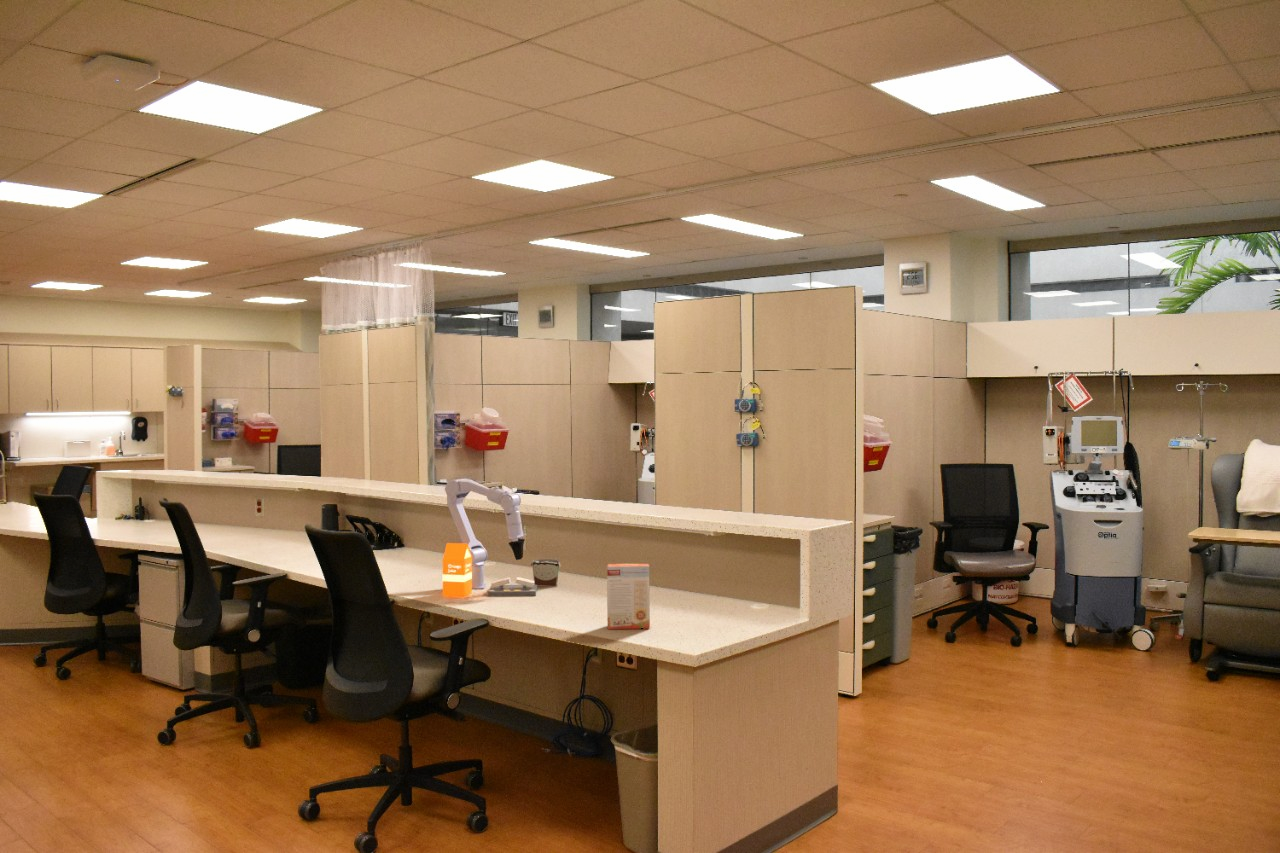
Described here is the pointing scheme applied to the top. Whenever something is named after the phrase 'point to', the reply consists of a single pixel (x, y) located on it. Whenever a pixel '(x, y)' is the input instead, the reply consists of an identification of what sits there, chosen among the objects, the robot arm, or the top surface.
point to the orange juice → (457, 570)
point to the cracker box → (628, 596)
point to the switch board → (512, 590)
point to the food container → (545, 572)
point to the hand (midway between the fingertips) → (519, 558)
